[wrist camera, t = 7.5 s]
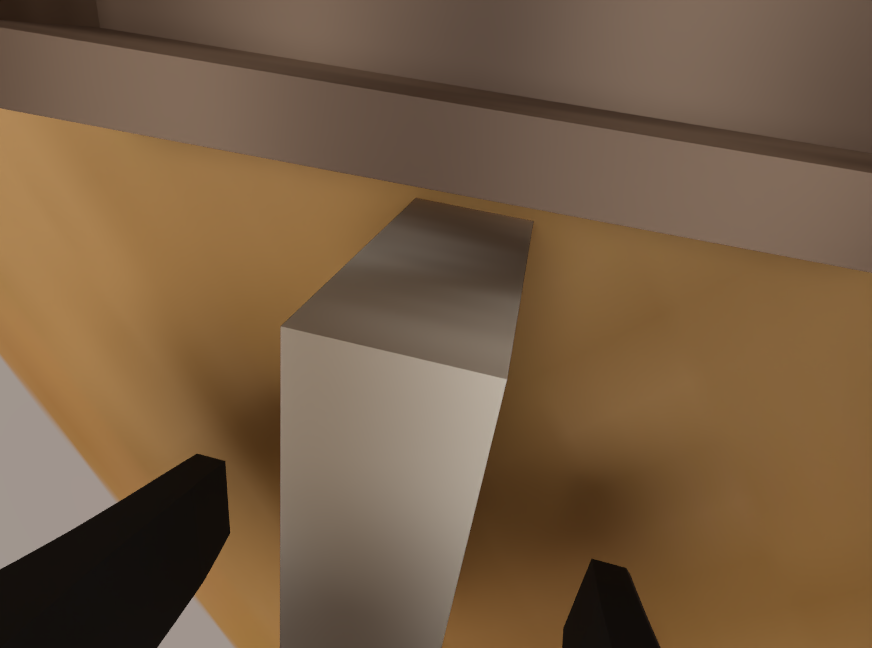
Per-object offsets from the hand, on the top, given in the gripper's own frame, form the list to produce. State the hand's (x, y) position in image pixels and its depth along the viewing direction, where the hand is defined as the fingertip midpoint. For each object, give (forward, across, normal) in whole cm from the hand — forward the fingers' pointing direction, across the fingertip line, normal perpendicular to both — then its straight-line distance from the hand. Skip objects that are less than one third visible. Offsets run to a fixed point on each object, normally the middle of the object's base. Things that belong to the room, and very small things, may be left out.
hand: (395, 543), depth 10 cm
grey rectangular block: (+4, 0, 0) cm, 4 cm away
